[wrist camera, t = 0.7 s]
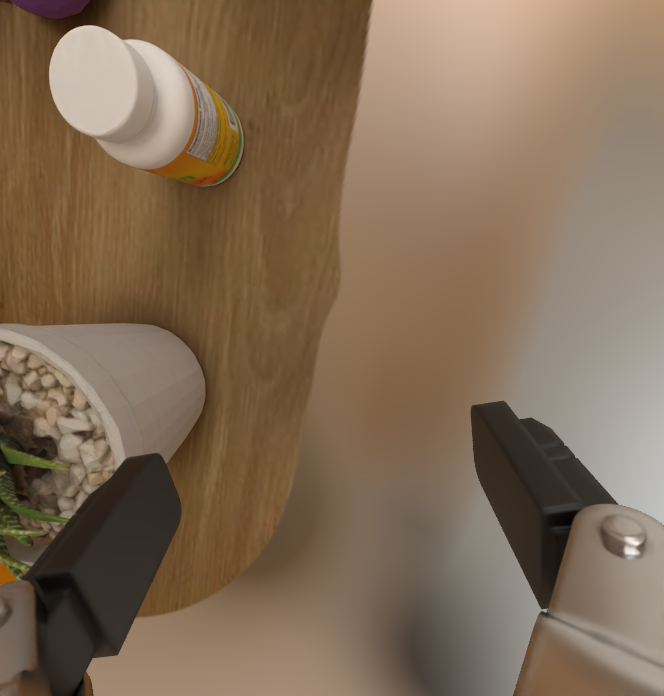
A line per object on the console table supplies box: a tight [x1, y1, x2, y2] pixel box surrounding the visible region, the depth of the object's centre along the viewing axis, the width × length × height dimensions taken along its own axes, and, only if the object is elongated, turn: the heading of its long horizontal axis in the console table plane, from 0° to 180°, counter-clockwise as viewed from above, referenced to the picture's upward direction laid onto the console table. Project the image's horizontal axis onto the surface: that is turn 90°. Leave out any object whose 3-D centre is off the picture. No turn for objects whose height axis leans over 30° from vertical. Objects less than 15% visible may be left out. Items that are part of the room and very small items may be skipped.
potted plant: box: [0, 323, 206, 580], centre depth 21 cm, size 13×14×20 cm
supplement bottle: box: [49, 25, 244, 187], centre depth 21 cm, size 5×5×10 cm
